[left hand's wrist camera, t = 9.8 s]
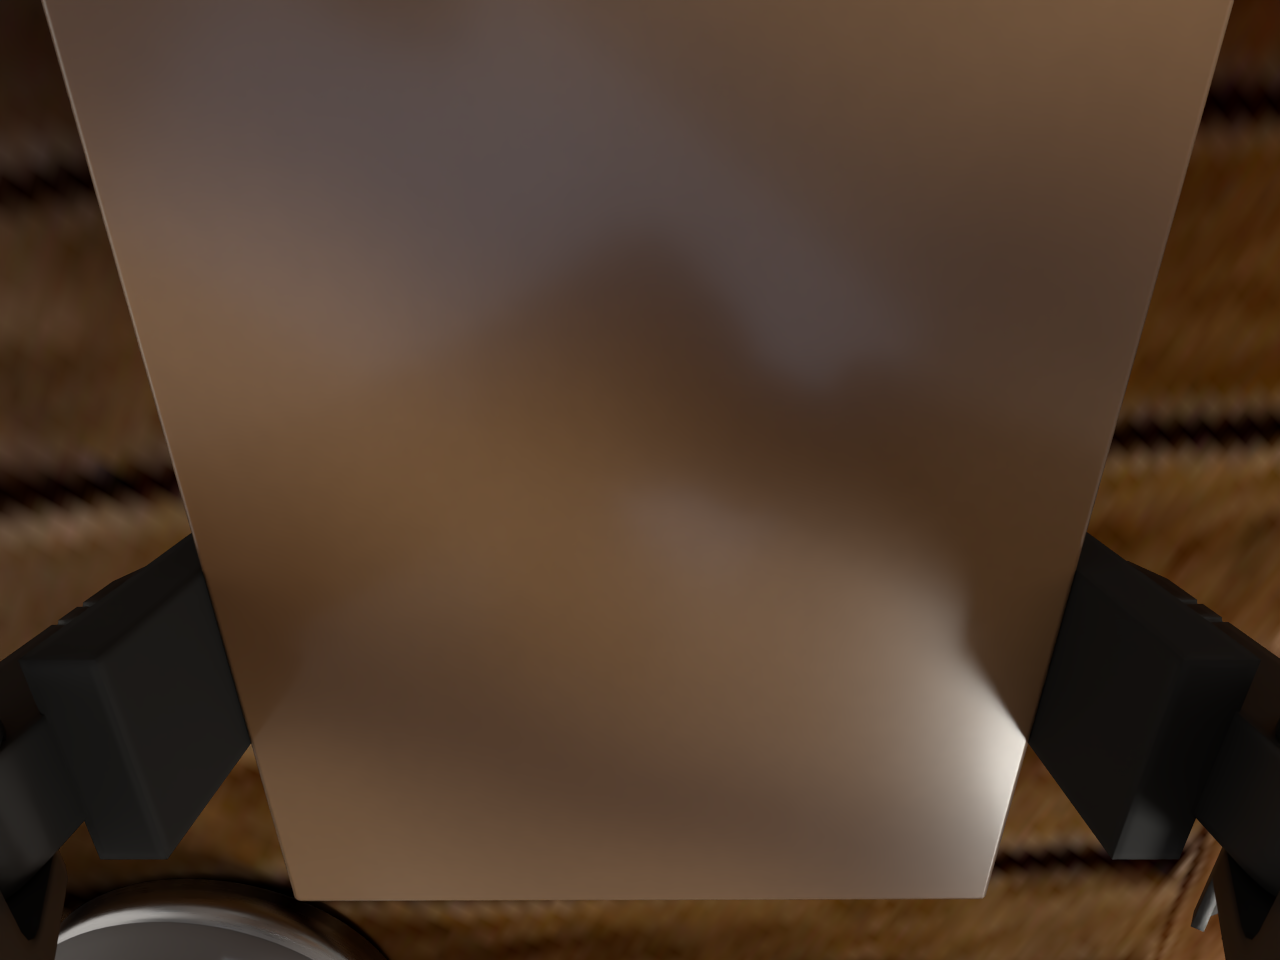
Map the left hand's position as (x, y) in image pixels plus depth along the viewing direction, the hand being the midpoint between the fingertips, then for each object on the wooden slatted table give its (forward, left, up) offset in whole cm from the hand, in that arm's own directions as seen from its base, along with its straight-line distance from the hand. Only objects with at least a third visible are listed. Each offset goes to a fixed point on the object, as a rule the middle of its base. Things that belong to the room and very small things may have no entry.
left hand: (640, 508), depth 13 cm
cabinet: (+1, +6, -7) cm, 9 cm away
